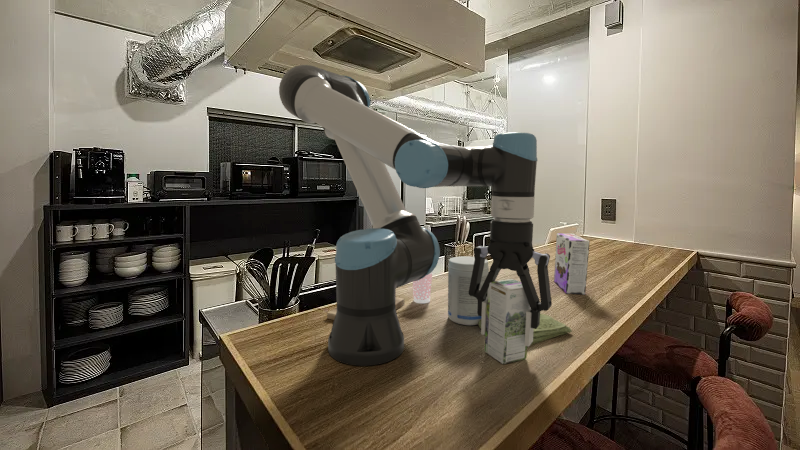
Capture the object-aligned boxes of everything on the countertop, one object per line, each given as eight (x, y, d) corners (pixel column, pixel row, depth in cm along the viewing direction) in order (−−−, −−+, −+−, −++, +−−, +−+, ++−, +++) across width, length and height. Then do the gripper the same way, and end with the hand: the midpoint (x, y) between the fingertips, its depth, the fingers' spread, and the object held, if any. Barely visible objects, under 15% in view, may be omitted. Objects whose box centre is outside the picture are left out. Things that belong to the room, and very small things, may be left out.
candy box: (553, 281, 123) (556, 232, 121) (571, 281, 122) (574, 233, 120) (565, 293, 109) (569, 239, 107) (586, 294, 109) (590, 240, 107)
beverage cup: (413, 296, 106) (414, 248, 104) (434, 298, 105) (435, 249, 103) (408, 303, 100) (409, 252, 99) (430, 305, 99) (431, 254, 97)
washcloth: (574, 335, 81) (575, 321, 81) (515, 352, 73) (516, 337, 73) (529, 316, 93) (529, 303, 92) (473, 328, 85) (474, 315, 84)
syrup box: (507, 346, 75) (510, 277, 73) (527, 360, 69) (531, 285, 67) (484, 351, 72) (486, 280, 71) (503, 365, 67) (507, 288, 65)
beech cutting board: (369, 327, 84) (369, 321, 83) (327, 318, 89) (327, 312, 89) (404, 304, 100) (404, 298, 99) (366, 297, 105) (366, 292, 105)
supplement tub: (495, 319, 89) (497, 260, 87) (472, 330, 83) (474, 266, 81) (462, 309, 96) (464, 254, 94) (439, 318, 90) (440, 259, 88)
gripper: (451, 217, 70) (449, 331, 73) (568, 226, 59) (559, 361, 61) (468, 214, 76) (465, 319, 79) (576, 221, 65) (568, 344, 68)
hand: (506, 337), depth 70 cm, fingers closed on syrup box, 8 cm apart
